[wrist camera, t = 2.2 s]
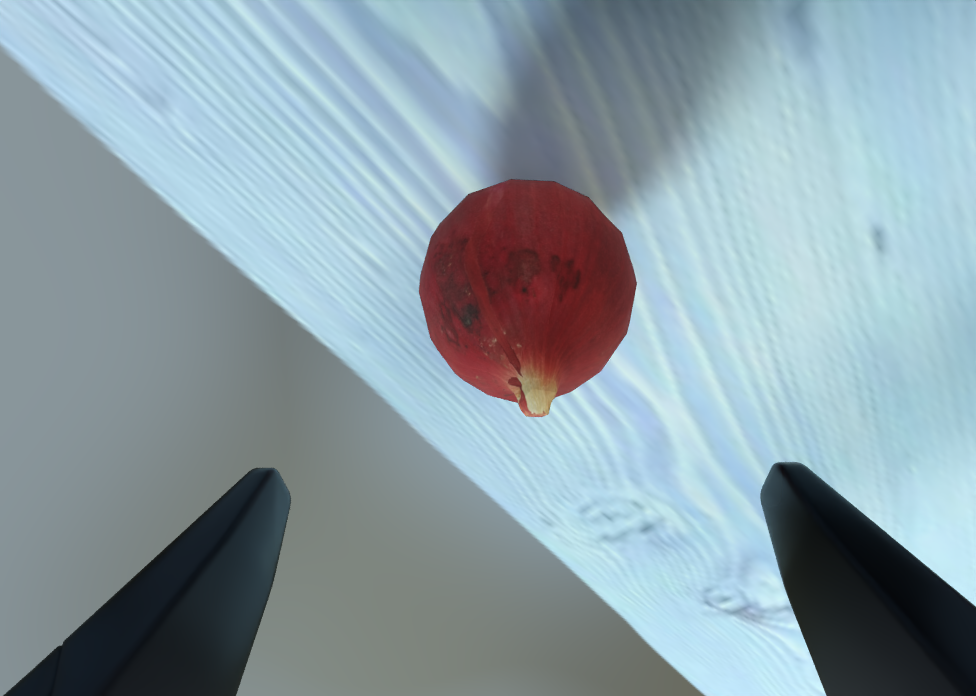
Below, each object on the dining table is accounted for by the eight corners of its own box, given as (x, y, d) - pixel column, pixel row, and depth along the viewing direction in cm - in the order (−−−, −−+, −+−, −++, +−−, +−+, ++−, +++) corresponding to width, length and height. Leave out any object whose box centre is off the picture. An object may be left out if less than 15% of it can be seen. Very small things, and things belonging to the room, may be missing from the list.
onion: (402, 235, 17) (339, 402, 10) (521, 99, 14) (533, 215, 8) (522, 329, 19) (530, 512, 13) (645, 229, 16) (731, 399, 10)
